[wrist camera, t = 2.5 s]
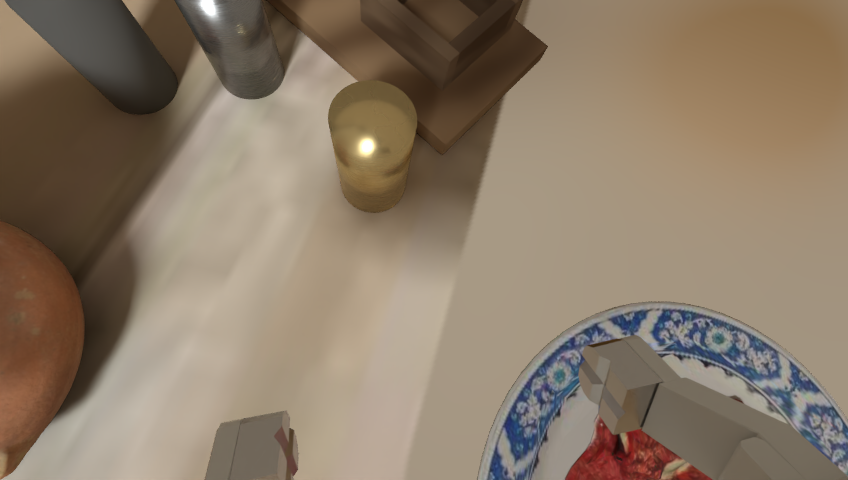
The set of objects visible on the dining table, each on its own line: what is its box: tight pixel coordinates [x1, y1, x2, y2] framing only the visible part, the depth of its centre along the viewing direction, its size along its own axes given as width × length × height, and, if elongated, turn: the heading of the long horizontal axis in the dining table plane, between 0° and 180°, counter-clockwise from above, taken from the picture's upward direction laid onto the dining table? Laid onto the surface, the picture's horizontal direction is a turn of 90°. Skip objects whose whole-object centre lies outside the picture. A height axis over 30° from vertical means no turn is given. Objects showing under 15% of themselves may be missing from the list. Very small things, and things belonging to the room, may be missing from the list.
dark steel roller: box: [175, 0, 284, 99], centre depth 25 cm, size 4×4×8 cm
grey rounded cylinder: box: [5, 0, 178, 115], centre depth 23 cm, size 4×4×8 cm
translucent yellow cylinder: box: [328, 80, 417, 213], centre depth 24 cm, size 4×4×8 cm
